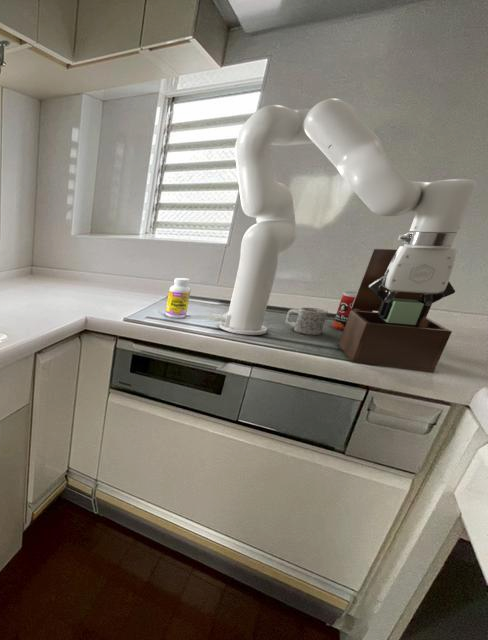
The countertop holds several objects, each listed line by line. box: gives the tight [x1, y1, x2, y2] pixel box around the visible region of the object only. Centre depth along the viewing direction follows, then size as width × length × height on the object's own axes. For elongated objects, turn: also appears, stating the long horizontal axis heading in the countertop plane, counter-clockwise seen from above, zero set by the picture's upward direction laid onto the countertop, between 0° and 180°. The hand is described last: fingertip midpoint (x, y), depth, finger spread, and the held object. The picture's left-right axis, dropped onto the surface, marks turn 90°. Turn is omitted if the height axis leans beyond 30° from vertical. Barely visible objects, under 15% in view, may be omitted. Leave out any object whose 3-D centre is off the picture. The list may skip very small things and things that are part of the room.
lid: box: [351, 248, 433, 316], centre depth 101 cm, size 15×15×5 cm
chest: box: [338, 310, 453, 373], centre depth 99 cm, size 15×15×10 cm
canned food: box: [332, 290, 374, 332], centre depth 123 cm, size 8×8×11 cm
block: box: [383, 298, 424, 325], centre depth 96 cm, size 5×5×5 cm
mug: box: [285, 307, 329, 336], centre depth 123 cm, size 10×7×7 cm, turn 30°
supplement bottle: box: [165, 277, 192, 319], centre depth 138 cm, size 7×7×13 cm
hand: (398, 318), depth 97 cm, fingers closed on block, 5 cm apart
